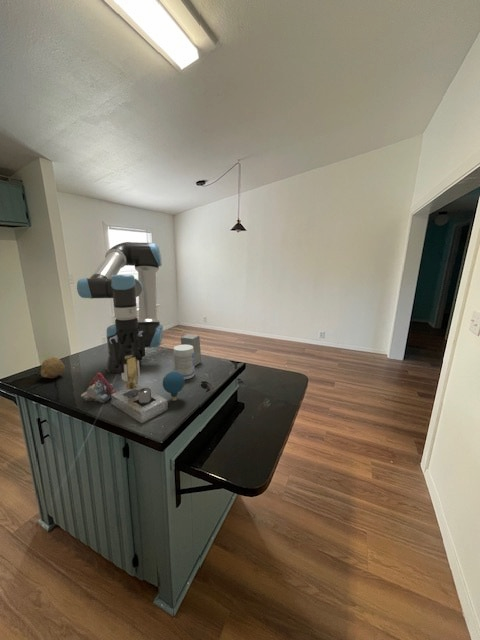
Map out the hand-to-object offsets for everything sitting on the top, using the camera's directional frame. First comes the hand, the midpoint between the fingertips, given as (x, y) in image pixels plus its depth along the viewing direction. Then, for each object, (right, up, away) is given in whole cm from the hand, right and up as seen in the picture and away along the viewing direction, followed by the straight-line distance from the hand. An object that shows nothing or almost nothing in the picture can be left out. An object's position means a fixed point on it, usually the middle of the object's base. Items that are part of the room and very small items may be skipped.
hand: (131, 377), depth 97 cm
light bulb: (+15, -10, +5) cm, 19 cm away
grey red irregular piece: (-14, -10, +5) cm, 18 cm away
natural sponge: (-46, -5, +23) cm, 51 cm away
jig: (+3, -11, 0) cm, 12 cm away
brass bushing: (0, -4, +1) cm, 4 cm away
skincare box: (+15, -2, +43) cm, 45 cm away
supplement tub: (+14, -5, +27) cm, 31 cm away
